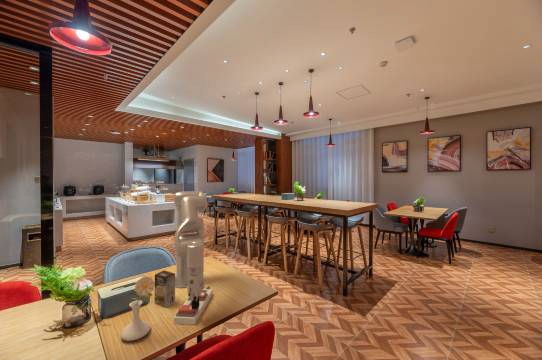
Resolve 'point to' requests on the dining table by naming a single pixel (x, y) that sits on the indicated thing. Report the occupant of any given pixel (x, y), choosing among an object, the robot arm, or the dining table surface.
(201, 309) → the power strip
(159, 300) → the coffee box
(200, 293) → the far rocker
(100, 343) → the dining table surface
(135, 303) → the flower in vase
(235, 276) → the dining table surface
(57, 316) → the dining table surface
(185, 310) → the near rocker
